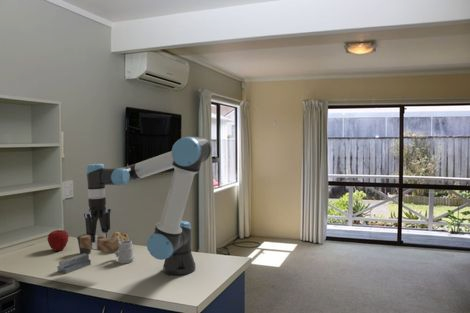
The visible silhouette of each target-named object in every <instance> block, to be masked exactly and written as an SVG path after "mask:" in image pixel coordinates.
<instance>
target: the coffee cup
mask: <svg viewBox="0 0 470 313" xmlns="http://www.w3.org/2000/svg"><path fill="white" fill-rule="evenodd" d="M85 235H87V234H81V235H78V236H76V239H77V243H78V248H79V249H78V250H79V255H81V254H89V255H90V254H91V252H92V249H86V248H80V237H82V236H85Z"/></svg>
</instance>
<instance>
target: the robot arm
mask: <svg viewBox="0 0 470 313" xmlns="http://www.w3.org/2000/svg"><path fill="white" fill-rule="evenodd" d="M211 154H212V145H211V143H210V142H209V140H208V139H207V138H205V137H202V136H184V137H182V138H179V139H178V140H176V142H174V144H173V145H172V148H171V151H168V152H165V153H162V154H159V155H157V156H153V157H151V158H148V159H145V160H142V161H140V162H137V163H134V164H130V165H126V166H123V167H115V168H114V167H113V168H107V167H106V168H105V165H104V163H93V164H92V163H90V164H88V165H87V167H86V170H87V171H86V177H87V178H86V180H87V198H88V199H87V200H88V208H89V209H88V212H86V213H84V214H83V216H84V218H85V221H84V222H85V232H86V235H90V236H91V242H92V249H96V250H95V251H98V250H97V249H98V245H97V237H98V234H96V233H97V225H98V221H99V225H100V226H99V227H100V229H101V230H100V234H99V235H100V237H104V238H108V237H107V236H108V235H107V234H108V233H109V231H110V230H111V211H112V209H111V208H107V207H106V205H107V200H106V199H107V198H106V195H107V194H106V185H107V186H124V185H127V184H128V183H130V182H136V181H138V180H141V179H143V178H147V177H149V176H152V175H156V174H158V173H161V172H164V171H167V170H170V169H174V170H173V175H172V178H171V181H170V182H171V183H170V186H169V188H168V194H167V197H166V200H165V204H164V207H163V210H162V214H161V219H160V221H159V222H158V221H157V222H156V224H155V227H154V231H153V234H151V235H150V236H149V237H148V239H147V241H146V249H147V251H148V253H149V255H151V256H152V257H153V258H154V259H156V260H161V261H162V260H163V261H164V263H163V266H162V270H163V273H164V274H166V275H170V276H182V275H183V276H184V275H188V274H191V273H193V272H194V271H196V268H197V267H196V262H195V259H194V256H193V253H192V227H191V222H189V221H186V220H183V216H184V213H185V209H186V205H187V202H188V198H189V195H190V192H191V188H192V184H193V180H194V177H195V175H196V174H198V173H199V172H200V169H201V166H202V163H204V162H206V161H207V160H208V159H209V158H210V157H211ZM92 249H91V250H92Z"/></svg>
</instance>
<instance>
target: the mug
mask: <svg viewBox="0 0 470 313" xmlns="http://www.w3.org/2000/svg"><path fill="white" fill-rule="evenodd" d="M116 239H117V240H118V246H119V248H118V251H116V252H114V253H115V256H116V258H117V260H118V263H119V264H130V263H133V262H134V258H135V256H134V254H133V253H134V251H133V249H134V247H133V242H132V240H129V241H121V242H120V239H119V237H118V236H117V237H116Z"/></svg>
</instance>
